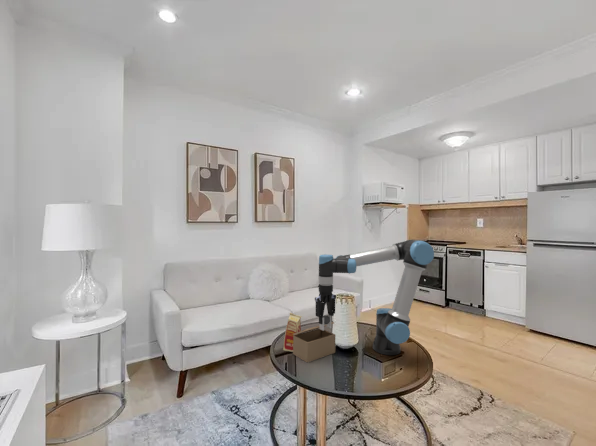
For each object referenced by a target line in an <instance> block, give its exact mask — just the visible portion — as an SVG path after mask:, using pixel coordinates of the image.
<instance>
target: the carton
mask: <svg viewBox="0 0 596 446" xmlns="http://www.w3.org/2000/svg"><path fill="white" fill-rule="evenodd" d="M335 353H336V334H335V333H332V332H330V331H329V330H326V329H324V331H323V330H320V328H319V329H315V330H312V331H308V332H304V333H301V334H298V335H294V336H293V352H292V355H294V356H296V357H297V358H299V359H301V360H302V361H303V362H306V363H310V362H313V361H315V360H319V359H321V358H323V357H324V358H325V357H327V356H330V355H333V354H335Z"/></svg>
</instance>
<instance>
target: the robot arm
mask: <svg viewBox="0 0 596 446" xmlns="http://www.w3.org/2000/svg"><path fill="white" fill-rule="evenodd" d="M318 256H319V257H318V296H317V297H316V296H315V297H314V301H315V317H316V318H318V324H319V326H320V328H319V329H320V330H323V331H324V330H325V327H324V317H323V316H324V313H325V307H326V309H327V314H326V315H327V316H328V317H329V318H330V322H329V323H328V324H327V326H326V328H328V329H332V324H331V322H333V317H334V314H336V298H337V295H336V294H333V292H334V285H333V284H334V274H355V273H356V272H357V267H361V266H368V265H373V264H378V263H382V262H386V261H387V262H389V261H392V260H396V261H402V260H403V261H402V263H403V265H404V268H403V271H402V273H401V274H402V275H401V278H400V281H399V285H398V287H397V291H396V294H395V298H394V301H393V305H392V307H391V308H387V307H385V308H383V307H381V308H377V309H376V313H375V314H376V315H375V316H376V317H375V318H376V322H375V323H376V324H375V325H376V326H375V327H376V328H375V330H376V331H375V338H374V340H373V342H372V349H373V350H374V351H375V352H376V353H379V354H381V355H386V356H397V355H399V354H401V351H402V350H401V349H402V348H401V345H400V344H403V343H405V342H407V341H408V340H409V338H410V336H411V330H410V327H409V326H410V322H411V318H410V316H409V315H410V313H411V312H410V311H411V308H412V306H413V302H414V298H415V296H416V292H417V289H418V285H419V282H420V278H421V276H422V273H423V272H424V271H426V269H427V267H428V265H429V264H430V263H431V262H432V261H433V260H434V258H435V250H434V248H433V247H432V245H431V244H429V243H428V242H426V241H424V240H415V239H408V240H404V241H401V242H397V243H393V244H392V245H391V246H385V247H381V248H375V249H371V250H365V251H362V252H361V251H360V252H355V253H350V254H344V255H341V254H339V255H337V256H336V257H334V255H333V254H326V253H325V254H320V255H318Z"/></svg>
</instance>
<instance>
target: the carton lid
mask: <svg viewBox="0 0 596 446" xmlns="http://www.w3.org/2000/svg"><path fill="white" fill-rule="evenodd" d="M327 315H328V314H326V315H323V317H324V328H325V327H327V324H328V323H329V322H330V318H329V317H328V316H327ZM333 324H335V322H334V321H331V325H333ZM316 329H320V325H318V326H317V325H316V326H313V327H308V328H306V329H303V330H302V329H301V331H300V332H297V333H294V334H293V335H297V334H301V333H305V332H309V331H312V330H316Z"/></svg>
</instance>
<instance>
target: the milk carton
mask: <svg viewBox="0 0 596 446" xmlns="http://www.w3.org/2000/svg"><path fill="white" fill-rule="evenodd" d="M302 317H303V316H301V315H299V314H294V313H292V312H289V316H288V319H287V324H286V326H285V327H286V328H285V331H284V332H285V333H284V338H283V348H282V351H285V352H291V353H293V336H294V335H293V334H294V333H297V332H300V331H302V326H301V323H302V322H301V321H302V320H301V319H302ZM297 335H298V334H297Z"/></svg>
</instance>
